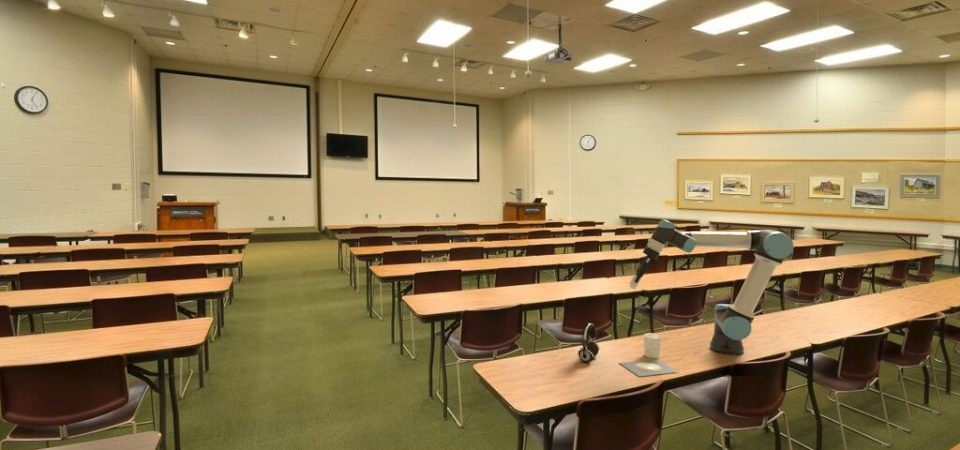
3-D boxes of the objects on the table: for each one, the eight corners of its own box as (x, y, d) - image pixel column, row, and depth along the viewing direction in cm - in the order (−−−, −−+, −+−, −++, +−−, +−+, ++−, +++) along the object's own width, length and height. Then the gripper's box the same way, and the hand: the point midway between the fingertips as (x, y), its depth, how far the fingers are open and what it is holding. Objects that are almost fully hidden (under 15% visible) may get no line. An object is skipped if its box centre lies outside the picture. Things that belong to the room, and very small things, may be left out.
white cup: (661, 359, 219) (662, 338, 218) (644, 358, 220) (645, 337, 220) (658, 353, 226) (659, 333, 226) (642, 352, 228) (642, 332, 227)
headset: (591, 366, 210) (591, 325, 208) (575, 363, 213) (575, 322, 212) (600, 355, 224) (601, 316, 223) (585, 352, 228) (586, 314, 226)
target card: (656, 359, 218) (656, 358, 218) (678, 372, 203) (678, 371, 203) (619, 363, 213) (619, 362, 213) (639, 377, 198) (639, 376, 198)
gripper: (645, 244, 238) (625, 279, 241) (647, 246, 214) (624, 285, 218) (659, 251, 236) (638, 287, 239) (662, 254, 212) (639, 293, 215)
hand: (632, 286), depth 228 cm, fingers open, 13 cm apart
